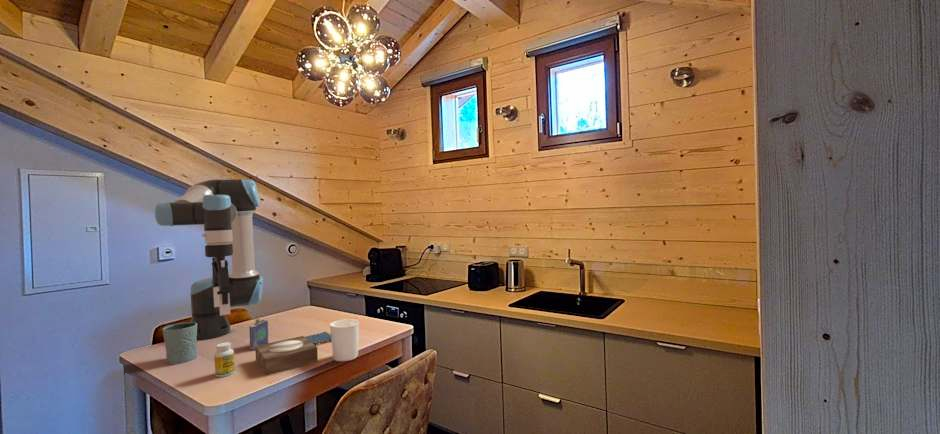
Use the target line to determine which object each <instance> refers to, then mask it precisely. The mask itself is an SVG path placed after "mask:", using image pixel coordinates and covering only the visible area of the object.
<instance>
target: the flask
mask: <svg viewBox="0 0 940 434" xmlns="http://www.w3.org/2000/svg"><path fill="white" fill-rule="evenodd" d="M254 321H255V322H254V323H253V324H251V325H250V326H249V327H248V329H249V349H250V351H255V346H258V345H263V344H267V343H269V323H268V322H269V320H268V319H260V318H254Z"/></svg>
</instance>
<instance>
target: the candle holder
mask: <svg viewBox="0 0 940 434" xmlns="http://www.w3.org/2000/svg"><path fill="white" fill-rule="evenodd" d="M329 330H330V336H331V341H330V342H331V350H332V358H333V360H334V361H336V362H348V361H353V360H355V359H356V358H358V356H359V341H360V340H359V337H360V336H359V334H360V333H359V332H360V331H359V330H360V321H359V320H358V319H355V318H344V319H338V320H335V321H332V322H330V323H329Z"/></svg>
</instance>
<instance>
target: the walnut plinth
mask: <svg viewBox="0 0 940 434" xmlns="http://www.w3.org/2000/svg"><path fill="white" fill-rule="evenodd" d="M254 352H255V361H256V363H257V364H258V366H259V367H260V368H261V370H262V371H263V373H264V374H265V375H266V376H267V375H272V374H276V373H279V372H284V371H288V370H293V369H295V368H298V367H299V368H300V367H304V366H308V365H311V364H314V363H318V362H319V361H318V360H319V358H318V355H319V354H318V346H315V345H314V344H313V343H311V342H310V341H309V340H308V339H306V338H305V336H304V335H301V336H300V335H299V336H296V337H292V338H287V339H282V340H281V339H280V340H278V341H273V342H268V343H267V344H263V345H258V346H255V350H254Z"/></svg>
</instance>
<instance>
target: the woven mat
mask: <svg viewBox="0 0 940 434" xmlns="http://www.w3.org/2000/svg"><path fill="white" fill-rule="evenodd" d="M304 337H305V338H306V339H308V340H309V341H310V342H311V343H313V344H314V345H315V346H316V347H318V346H319V345H323V344H327V343H331V342H332V341H331V334H330V333H329V332H327V331H324V332H320V333H316V334H310V335H306V336H304Z"/></svg>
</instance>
